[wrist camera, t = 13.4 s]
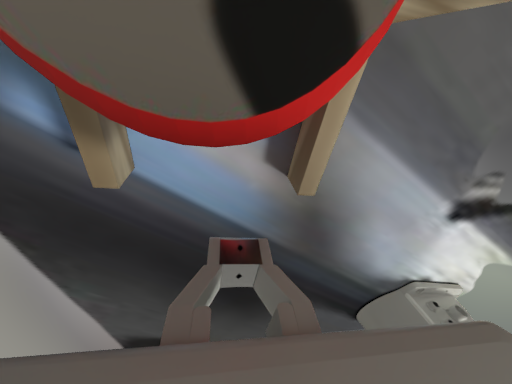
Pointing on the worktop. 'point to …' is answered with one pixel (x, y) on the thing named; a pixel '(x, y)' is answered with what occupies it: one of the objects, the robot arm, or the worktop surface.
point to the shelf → (308, 144)
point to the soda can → (198, 59)
